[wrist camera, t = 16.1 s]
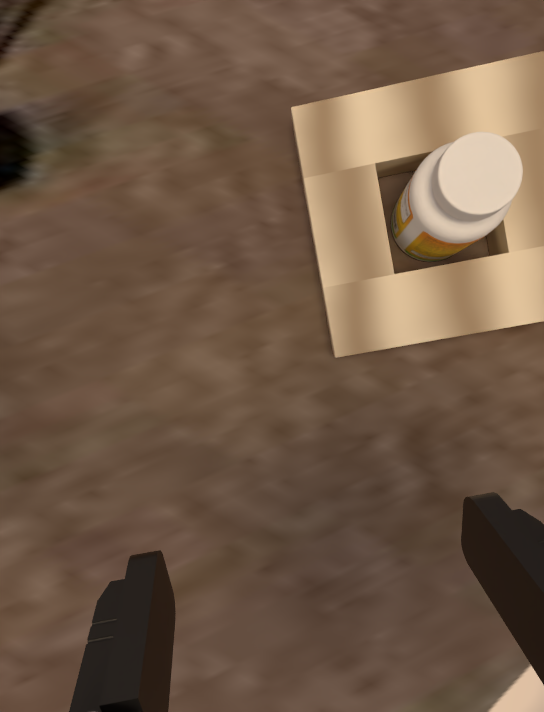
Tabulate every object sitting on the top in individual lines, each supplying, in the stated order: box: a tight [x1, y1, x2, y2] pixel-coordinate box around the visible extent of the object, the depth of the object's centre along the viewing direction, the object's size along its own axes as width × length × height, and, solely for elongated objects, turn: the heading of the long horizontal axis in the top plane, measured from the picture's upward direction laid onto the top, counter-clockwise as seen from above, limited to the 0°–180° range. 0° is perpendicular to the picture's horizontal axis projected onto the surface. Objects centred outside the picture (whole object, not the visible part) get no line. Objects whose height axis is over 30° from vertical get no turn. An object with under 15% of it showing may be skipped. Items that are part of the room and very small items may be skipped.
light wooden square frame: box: [291, 51, 544, 358], centre depth 31 cm, size 16×16×3 cm
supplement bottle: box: [391, 132, 523, 262], centre depth 27 cm, size 5×5×10 cm
